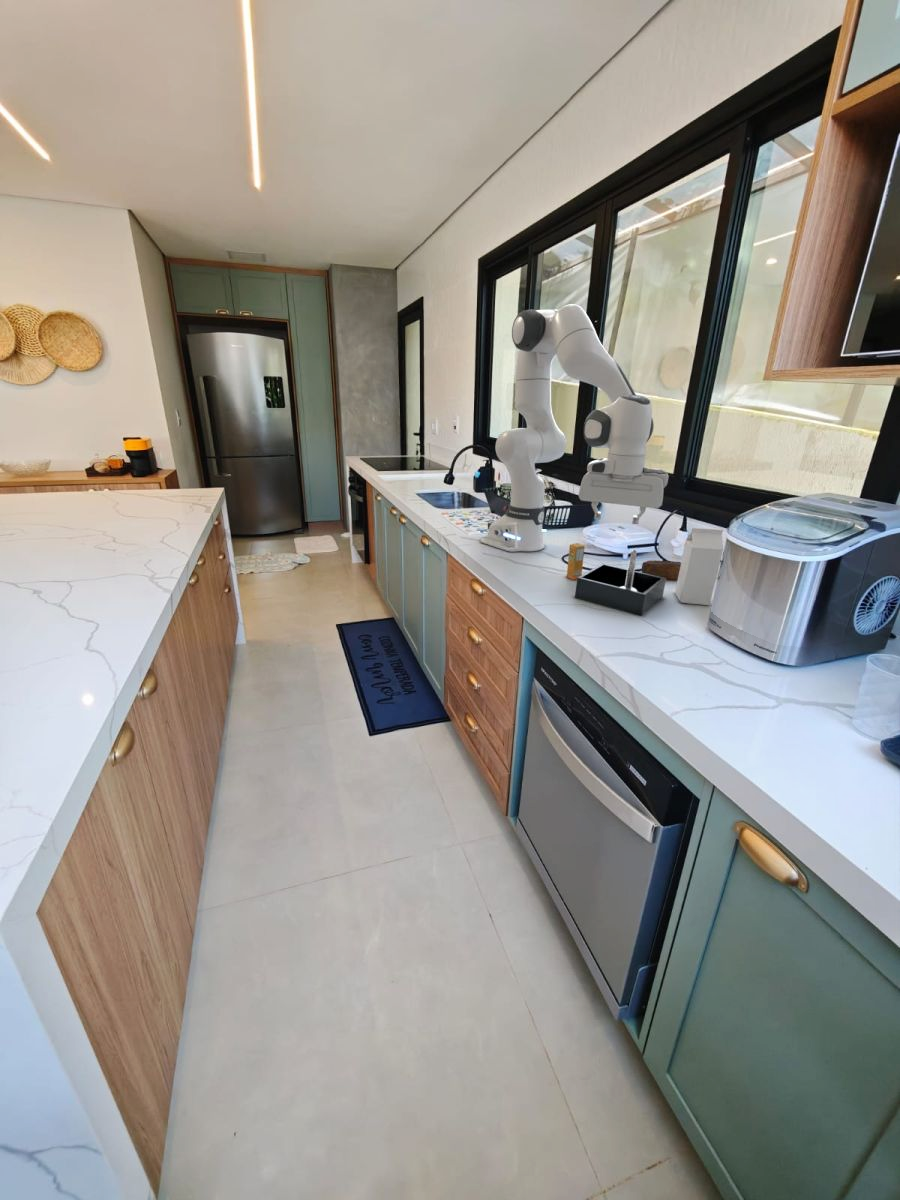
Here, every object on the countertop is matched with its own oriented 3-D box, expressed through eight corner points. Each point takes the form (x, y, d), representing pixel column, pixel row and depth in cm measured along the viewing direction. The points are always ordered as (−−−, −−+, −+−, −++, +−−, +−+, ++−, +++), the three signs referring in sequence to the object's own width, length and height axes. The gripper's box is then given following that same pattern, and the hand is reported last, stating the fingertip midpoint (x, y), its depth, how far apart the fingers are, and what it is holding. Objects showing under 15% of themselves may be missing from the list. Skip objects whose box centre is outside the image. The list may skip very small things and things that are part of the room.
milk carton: (709, 605, 128) (727, 533, 121) (680, 603, 130) (695, 531, 122) (702, 595, 135) (718, 526, 128) (674, 593, 136) (689, 524, 129)
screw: (636, 595, 132) (636, 602, 128) (616, 593, 134) (616, 599, 130) (644, 548, 127) (644, 553, 123) (624, 546, 129) (624, 551, 125)
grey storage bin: (574, 597, 132) (577, 577, 130) (599, 582, 143) (602, 563, 141) (641, 616, 122) (645, 594, 120) (662, 597, 133) (666, 578, 131)
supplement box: (565, 576, 147) (568, 543, 143) (574, 575, 148) (578, 542, 144) (572, 580, 144) (576, 546, 140) (581, 578, 145) (586, 545, 141)
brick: (677, 576, 149) (680, 561, 147) (681, 580, 145) (684, 565, 143) (640, 573, 151) (643, 558, 149) (642, 578, 147) (645, 562, 145)
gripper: (670, 467, 123) (659, 523, 128) (585, 461, 130) (578, 514, 135) (669, 471, 117) (658, 529, 123) (581, 464, 125) (574, 519, 130)
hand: (616, 521), depth 129 cm, fingers open, 8 cm apart
